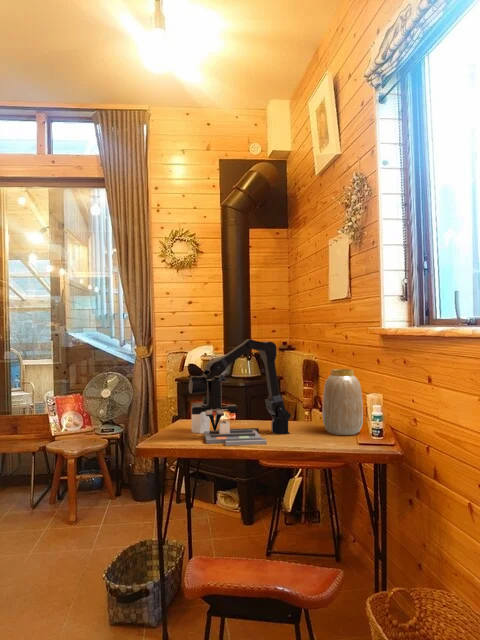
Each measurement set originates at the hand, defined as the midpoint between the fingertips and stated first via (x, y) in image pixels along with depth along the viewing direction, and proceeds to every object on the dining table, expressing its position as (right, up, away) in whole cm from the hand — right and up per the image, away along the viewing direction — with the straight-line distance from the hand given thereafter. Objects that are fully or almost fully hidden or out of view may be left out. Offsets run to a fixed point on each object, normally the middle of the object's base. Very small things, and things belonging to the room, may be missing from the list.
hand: (214, 430), depth 184 cm
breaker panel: (+7, -3, +1) cm, 8 cm away
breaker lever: (+4, -2, 0) cm, 4 cm away
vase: (+55, -4, +12) cm, 56 cm away
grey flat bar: (+12, -3, -8) cm, 15 cm away
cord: (+10, -4, +12) cm, 16 cm away
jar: (-7, -4, +14) cm, 16 cm away
